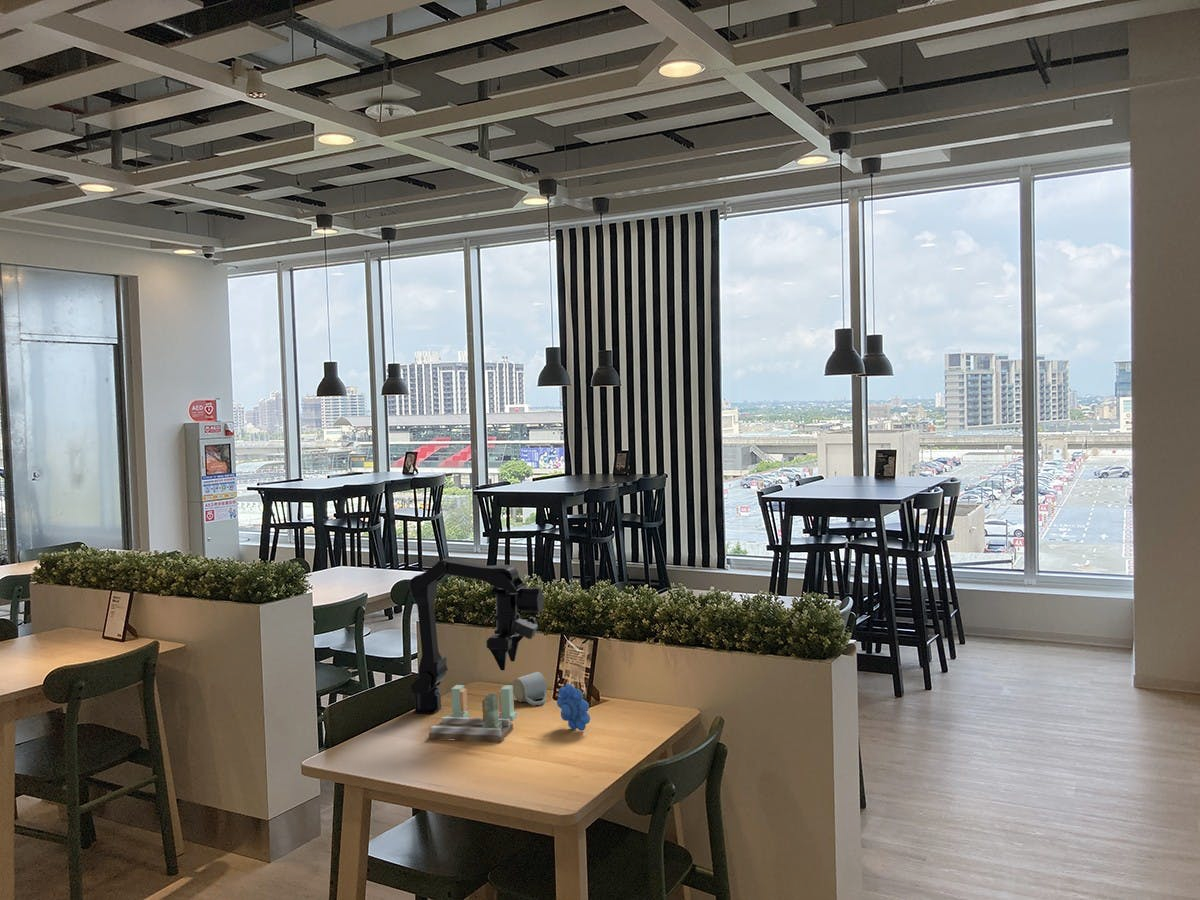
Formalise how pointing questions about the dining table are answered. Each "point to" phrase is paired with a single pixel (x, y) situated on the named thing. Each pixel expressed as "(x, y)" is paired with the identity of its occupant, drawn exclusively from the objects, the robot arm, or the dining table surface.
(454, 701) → the stepped sage green block
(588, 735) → the dining table surface
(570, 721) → the grapes
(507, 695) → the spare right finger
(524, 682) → the ceramic mug
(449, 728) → the rail board
